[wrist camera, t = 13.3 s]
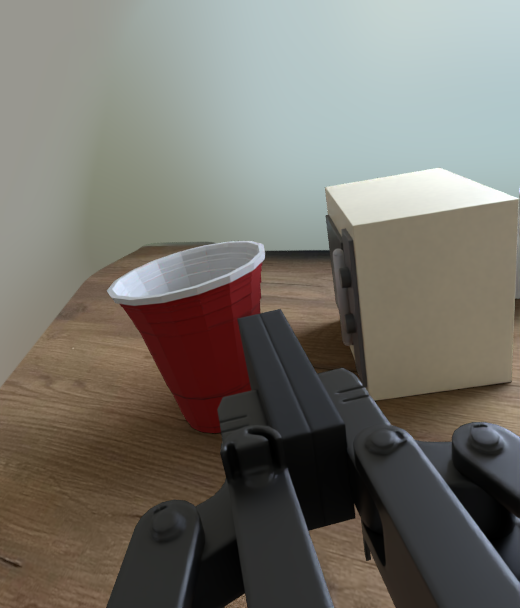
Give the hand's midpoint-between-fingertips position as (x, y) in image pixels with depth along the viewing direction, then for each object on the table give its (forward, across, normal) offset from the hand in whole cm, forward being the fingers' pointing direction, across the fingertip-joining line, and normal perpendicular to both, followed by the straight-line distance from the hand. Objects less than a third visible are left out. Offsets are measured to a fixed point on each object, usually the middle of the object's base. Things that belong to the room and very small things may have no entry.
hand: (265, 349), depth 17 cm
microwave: (+19, +14, -13) cm, 27 cm away
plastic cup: (+17, -2, -14) cm, 22 cm away
